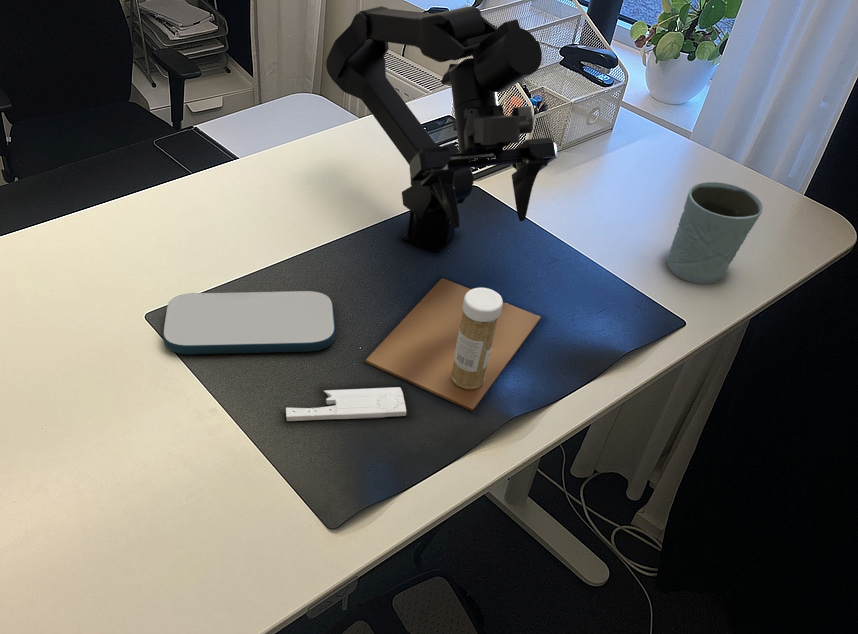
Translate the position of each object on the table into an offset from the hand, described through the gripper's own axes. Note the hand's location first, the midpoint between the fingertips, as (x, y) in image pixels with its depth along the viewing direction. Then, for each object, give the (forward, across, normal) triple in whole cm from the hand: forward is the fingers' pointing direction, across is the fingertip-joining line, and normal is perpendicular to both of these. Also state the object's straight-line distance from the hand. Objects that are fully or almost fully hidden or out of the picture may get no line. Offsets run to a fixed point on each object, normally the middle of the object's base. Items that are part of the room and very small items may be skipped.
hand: (490, 223), depth 101 cm
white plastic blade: (+21, -23, -2) cm, 31 cm away
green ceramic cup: (+8, +37, +12) cm, 40 cm away
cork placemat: (+15, -5, +4) cm, 16 cm away
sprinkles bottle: (+20, -6, -1) cm, 21 cm away
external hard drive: (+10, -33, +10) cm, 36 cm away
